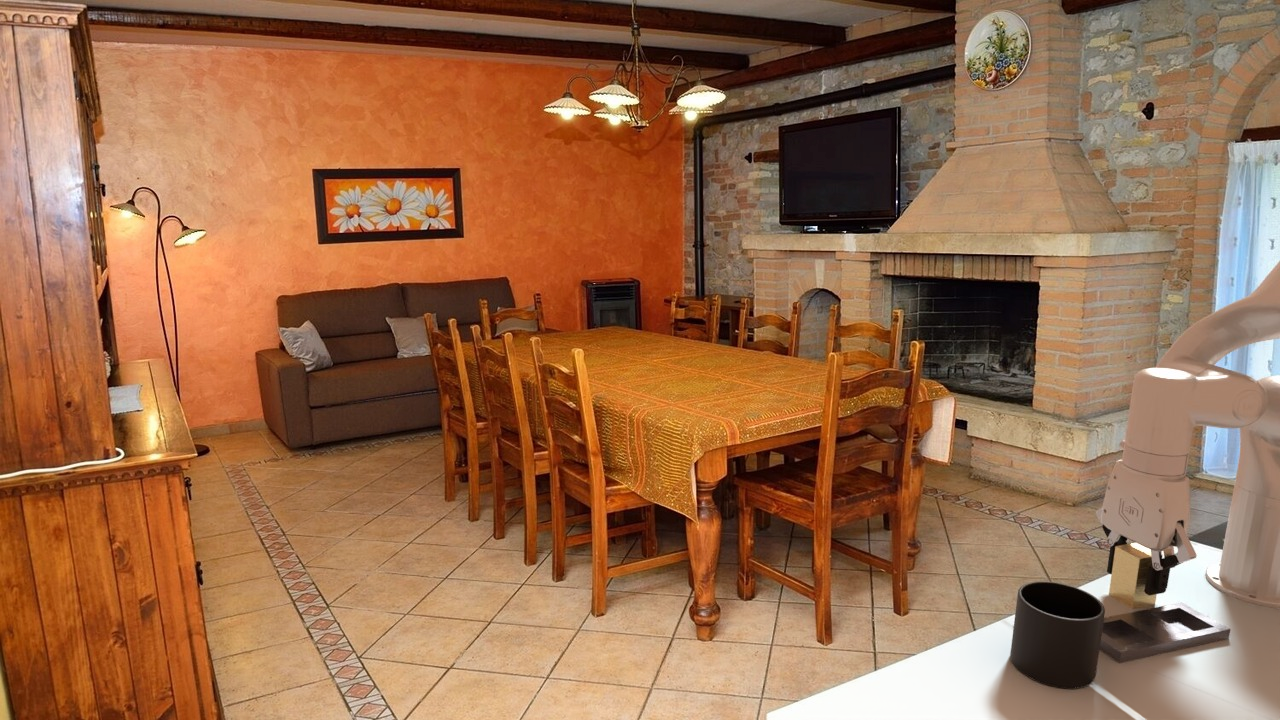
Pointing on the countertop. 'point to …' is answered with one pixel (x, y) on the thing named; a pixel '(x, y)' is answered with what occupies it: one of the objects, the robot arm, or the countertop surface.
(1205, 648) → the countertop surface
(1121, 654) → the grey slotted board
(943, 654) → the countertop surface
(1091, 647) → the mug
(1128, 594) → the wooden block
